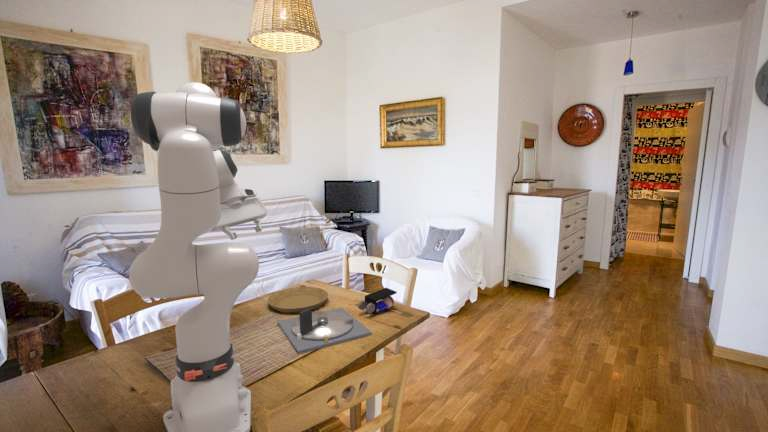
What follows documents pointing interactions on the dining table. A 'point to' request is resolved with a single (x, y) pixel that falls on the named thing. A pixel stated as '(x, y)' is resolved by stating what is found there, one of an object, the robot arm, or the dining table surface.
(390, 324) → the dining table surface
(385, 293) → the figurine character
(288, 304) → the plant saucer
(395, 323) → the dining table surface
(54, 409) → the dining table surface
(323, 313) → the dial
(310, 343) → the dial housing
